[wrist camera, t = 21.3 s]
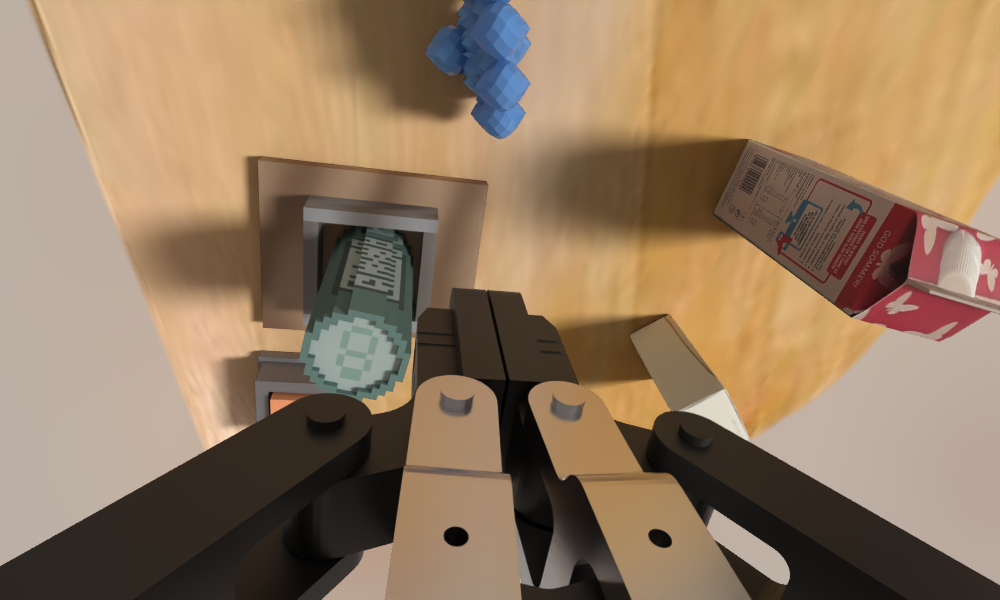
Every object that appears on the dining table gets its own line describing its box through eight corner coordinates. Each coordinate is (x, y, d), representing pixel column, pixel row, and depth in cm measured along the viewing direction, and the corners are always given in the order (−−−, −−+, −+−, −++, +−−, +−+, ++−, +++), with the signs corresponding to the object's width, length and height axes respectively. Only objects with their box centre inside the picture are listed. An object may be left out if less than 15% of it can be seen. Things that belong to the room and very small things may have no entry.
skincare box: (692, 359, 58) (754, 442, 47) (650, 380, 59) (702, 467, 48) (668, 310, 55) (728, 387, 44) (625, 334, 56) (674, 415, 45)
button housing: (355, 356, 53) (350, 381, 50) (352, 427, 57) (347, 456, 53) (261, 350, 52) (249, 376, 49) (263, 424, 56) (252, 453, 52)
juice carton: (749, 139, 49) (968, 234, 29) (816, 162, 50) (1067, 267, 31) (712, 214, 51) (891, 347, 32) (777, 233, 53) (985, 372, 33)
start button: (333, 381, 52) (328, 402, 50) (331, 423, 54) (327, 445, 52) (277, 378, 52) (270, 399, 49) (278, 421, 54) (271, 443, 51)
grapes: (411, -49, 40) (408, -66, 29) (512, -58, 41) (545, -76, 30) (433, 128, 45) (438, 169, 35) (522, 119, 46) (553, 156, 35)
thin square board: (486, 181, 48) (492, 196, 44) (465, 334, 54) (469, 359, 50) (261, 156, 45) (247, 170, 41) (266, 320, 51) (254, 346, 47)
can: (327, 282, 49) (292, 390, 35) (342, 213, 46) (311, 300, 33) (401, 299, 50) (394, 408, 37) (419, 233, 48) (420, 325, 34)
